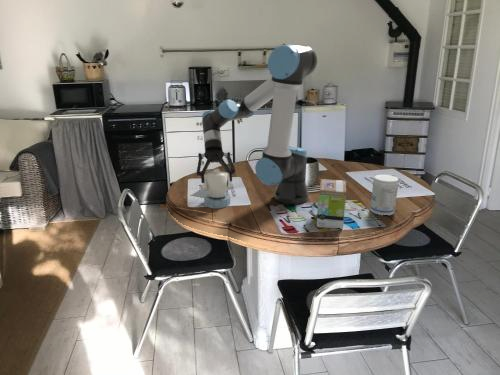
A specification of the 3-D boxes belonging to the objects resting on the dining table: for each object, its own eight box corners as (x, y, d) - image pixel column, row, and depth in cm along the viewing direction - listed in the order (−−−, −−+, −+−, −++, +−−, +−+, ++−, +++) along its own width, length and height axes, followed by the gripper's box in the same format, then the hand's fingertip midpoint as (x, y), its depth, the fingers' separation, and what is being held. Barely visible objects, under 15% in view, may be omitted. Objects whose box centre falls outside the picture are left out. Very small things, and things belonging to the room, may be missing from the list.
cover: (229, 190, 179) (228, 167, 176) (226, 197, 171) (225, 173, 168) (208, 190, 180) (207, 166, 177) (204, 197, 172) (203, 172, 168)
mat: (226, 192, 192) (226, 191, 192) (213, 200, 182) (213, 199, 182) (203, 188, 197) (203, 187, 197) (190, 196, 187) (190, 195, 187)
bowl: (234, 202, 180) (234, 194, 178) (222, 210, 170) (222, 202, 169) (212, 198, 184) (212, 191, 183) (199, 206, 174) (199, 198, 173)
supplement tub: (366, 208, 174) (370, 174, 169) (388, 207, 175) (392, 173, 170) (375, 216, 165) (379, 181, 160) (398, 216, 165) (403, 180, 161)
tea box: (343, 229, 153) (346, 191, 148) (316, 227, 155) (318, 189, 150) (343, 214, 167) (346, 179, 162) (318, 212, 169) (320, 177, 164)
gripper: (236, 146, 186) (242, 191, 177) (187, 148, 183) (191, 194, 173) (238, 137, 180) (244, 183, 170) (187, 139, 176) (191, 186, 166)
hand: (217, 189), depth 171 cm, fingers closed on cover, 9 cm apart
